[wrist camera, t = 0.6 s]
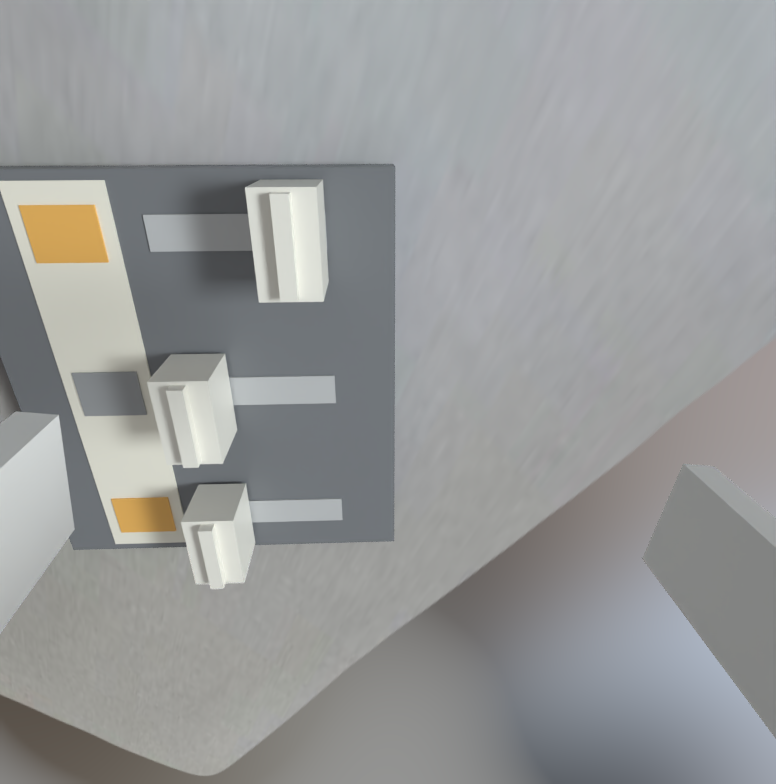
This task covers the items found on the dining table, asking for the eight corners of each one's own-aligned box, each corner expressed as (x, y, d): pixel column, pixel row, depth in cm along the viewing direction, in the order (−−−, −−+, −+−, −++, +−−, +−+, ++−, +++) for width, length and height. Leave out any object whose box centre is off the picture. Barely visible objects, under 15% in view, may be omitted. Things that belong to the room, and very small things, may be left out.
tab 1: (322, 179, 25) (315, 188, 21) (328, 281, 27) (322, 305, 24) (260, 179, 25) (241, 188, 21) (271, 282, 27) (256, 306, 23)
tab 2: (224, 353, 29) (204, 386, 25) (237, 430, 31) (219, 470, 27) (170, 354, 29) (142, 387, 25) (186, 430, 31) (162, 471, 27)
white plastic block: (245, 483, 33) (230, 527, 29) (255, 542, 35) (242, 590, 32) (198, 484, 33) (177, 529, 29) (211, 543, 35) (192, 592, 32)
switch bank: (393, 164, 27) (395, 167, 25) (392, 521, 38) (394, 543, 36) (-41, 166, 26) (-74, 169, 24) (87, 529, 37) (72, 551, 35)
